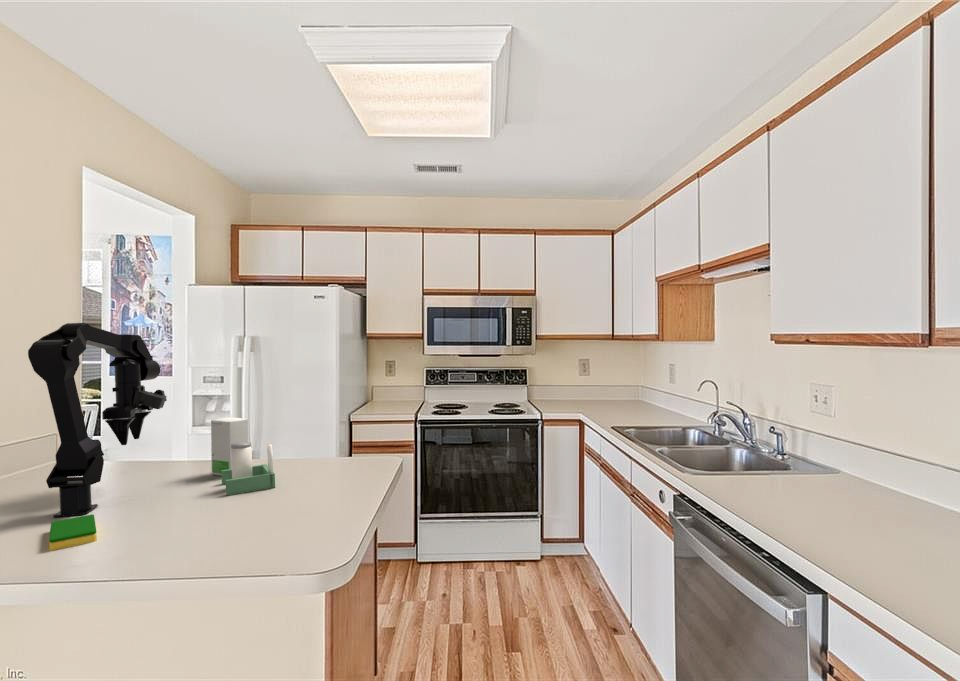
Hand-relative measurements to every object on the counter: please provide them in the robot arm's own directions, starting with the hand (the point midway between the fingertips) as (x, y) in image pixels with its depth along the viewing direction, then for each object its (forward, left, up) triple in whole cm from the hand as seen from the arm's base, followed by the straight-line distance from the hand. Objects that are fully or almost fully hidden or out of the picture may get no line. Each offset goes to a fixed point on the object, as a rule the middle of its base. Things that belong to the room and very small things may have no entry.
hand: (130, 441), depth 144 cm
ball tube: (-11, -29, -12) cm, 33 cm away
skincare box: (+6, -23, -12) cm, 27 cm away
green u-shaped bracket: (-11, -30, -12) cm, 34 cm away
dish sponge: (-38, -2, -13) cm, 40 cm away
